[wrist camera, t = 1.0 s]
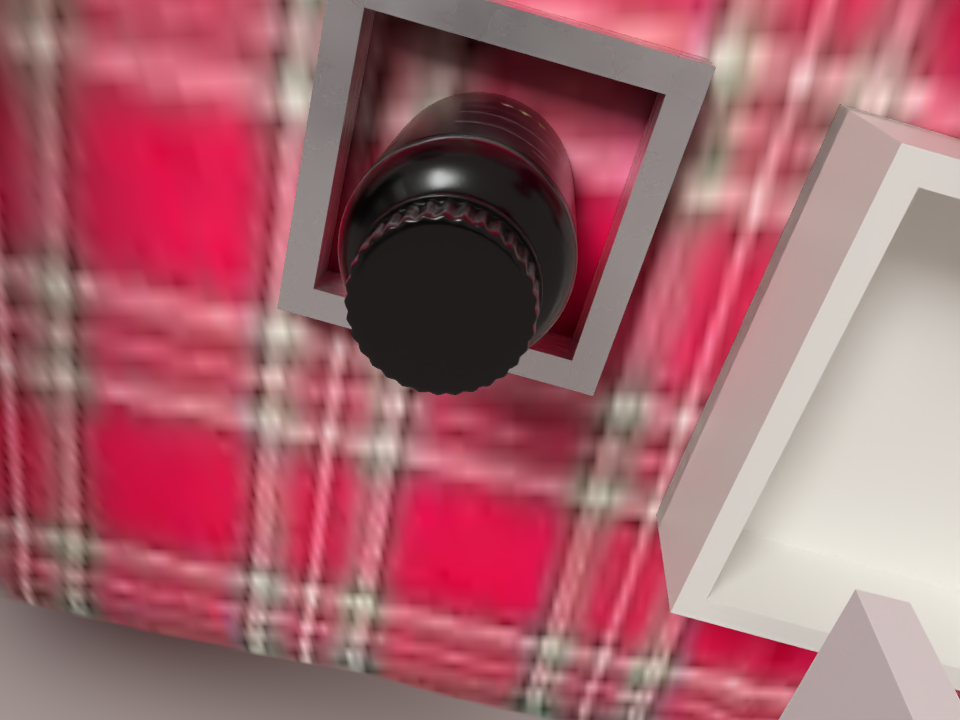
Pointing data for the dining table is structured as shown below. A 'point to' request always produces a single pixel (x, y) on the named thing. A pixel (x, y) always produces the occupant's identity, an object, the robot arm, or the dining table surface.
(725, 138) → the dining table surface
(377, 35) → the dining table surface
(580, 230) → the dining table surface
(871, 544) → the bin
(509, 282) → the supplement bottle
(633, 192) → the socket collar
